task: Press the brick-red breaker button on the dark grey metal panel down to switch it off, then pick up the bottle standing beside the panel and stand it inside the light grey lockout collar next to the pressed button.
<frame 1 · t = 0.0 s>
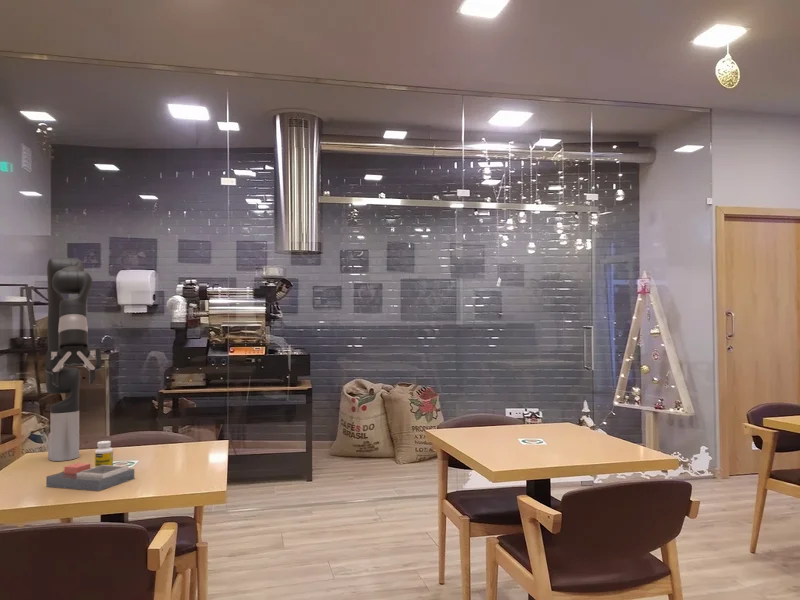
hand: (74, 385, 164), 31 cm above the table, fingers open, 8 cm apart
supplement bottle: (103, 472, 190), on the table
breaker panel: (91, 482, 176), on the table
breaker button: (77, 470, 178), point 3 cm above the table, slide at 0.0 cm
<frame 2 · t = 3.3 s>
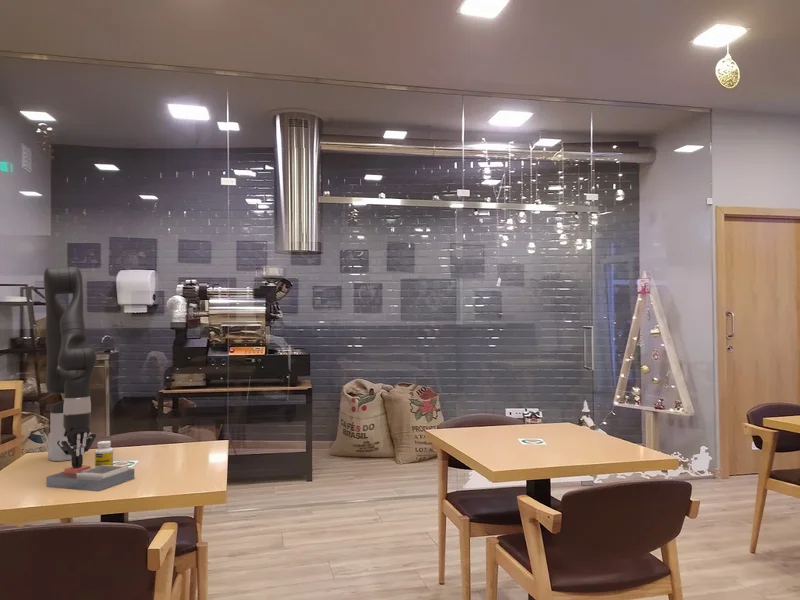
hand: (77, 467, 178), 4 cm above the table, fingers closed
breaker button: (77, 473, 178), point 3 cm above the table, slide at 0.7 cm, touching gripper
everything else where it was.
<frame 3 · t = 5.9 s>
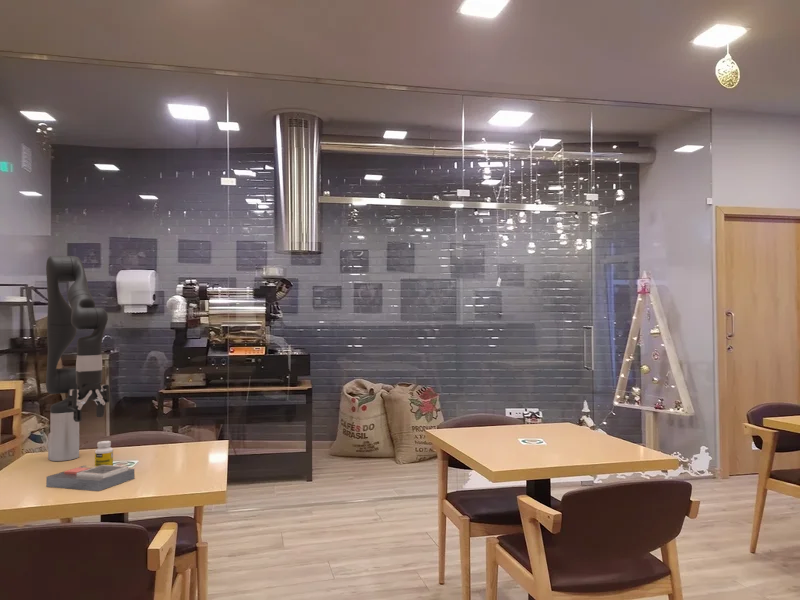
hand: (89, 419, 184), 18 cm above the table, fingers open, 8 cm apart
breaker button: (77, 475, 178), point 2 cm above the table, slide at 1.4 cm
everything else where it was.
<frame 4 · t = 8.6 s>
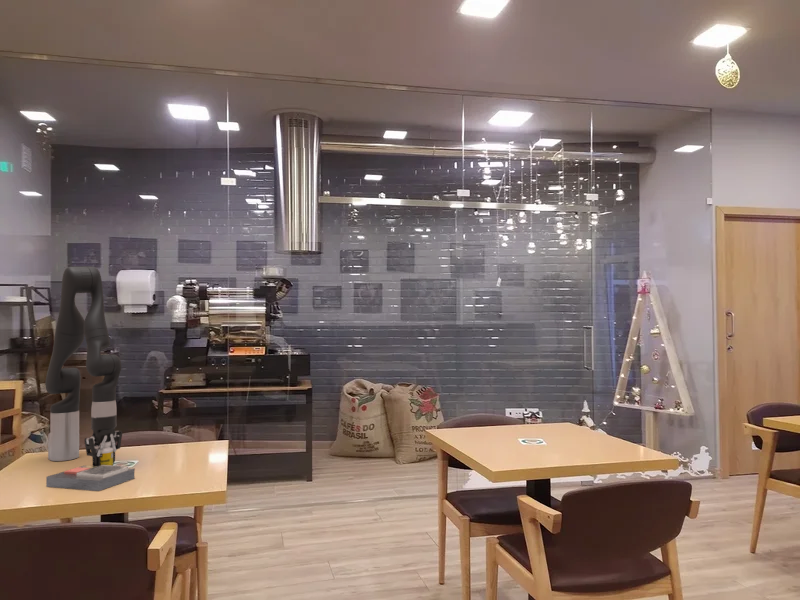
hand: (103, 465, 190), 2 cm above the table, fingers closed on supplement bottle, 5 cm apart
supplement bottle: (103, 472, 190), on the table, touching gripper
everything else where it was.
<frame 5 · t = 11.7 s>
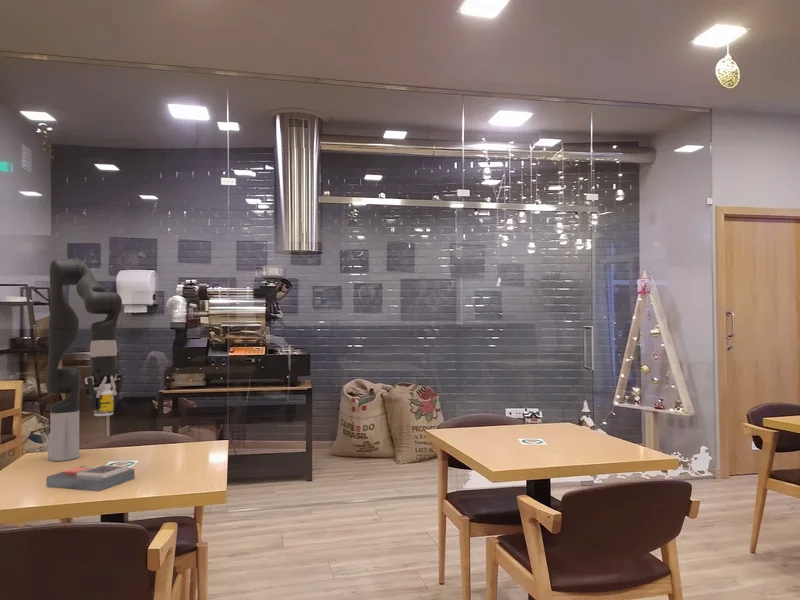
hand: (103, 408, 179), 22 cm above the table, fingers closed on supplement bottle, 5 cm apart
supplement bottle: (103, 415, 179), point 20 cm above the table, touching gripper
everything else where it was.
when the fingers open (6 cm above the table, at t = 14.8 s): supplement bottle drops 1 cm, resting on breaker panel.
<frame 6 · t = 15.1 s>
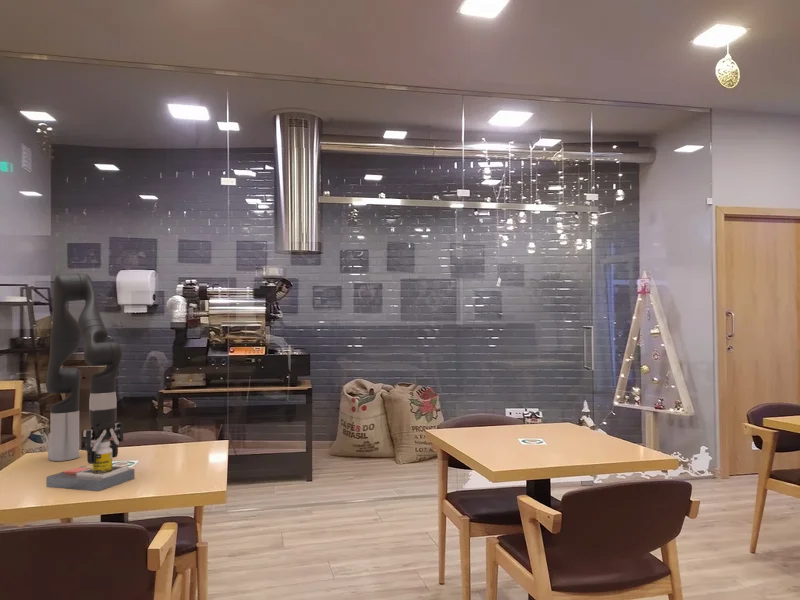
hand: (102, 460, 175), 7 cm above the table, fingers open, 8 cm apart
supplement bottle: (102, 474, 175), point 3 cm above the table, touching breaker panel
everything else where it was.
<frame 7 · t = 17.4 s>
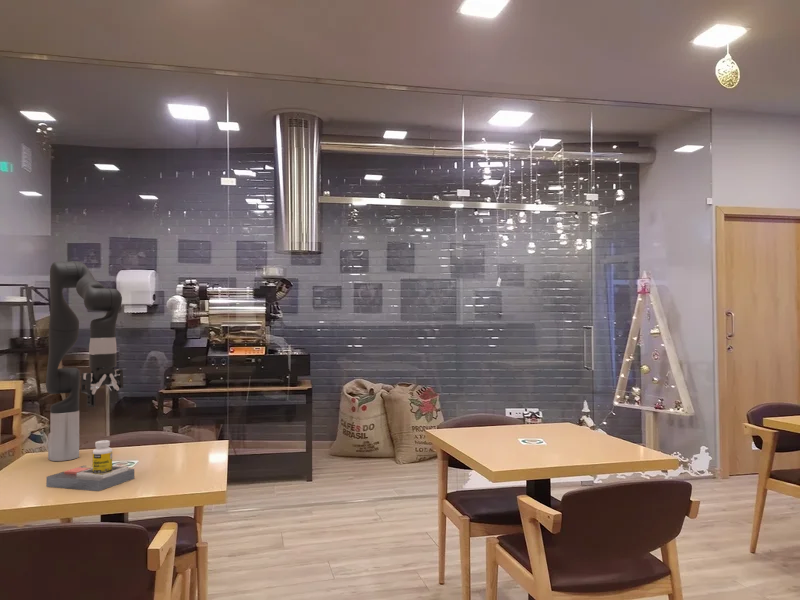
hand: (102, 404, 176), 24 cm above the table, fingers open, 8 cm apart
nothing on the table moved.
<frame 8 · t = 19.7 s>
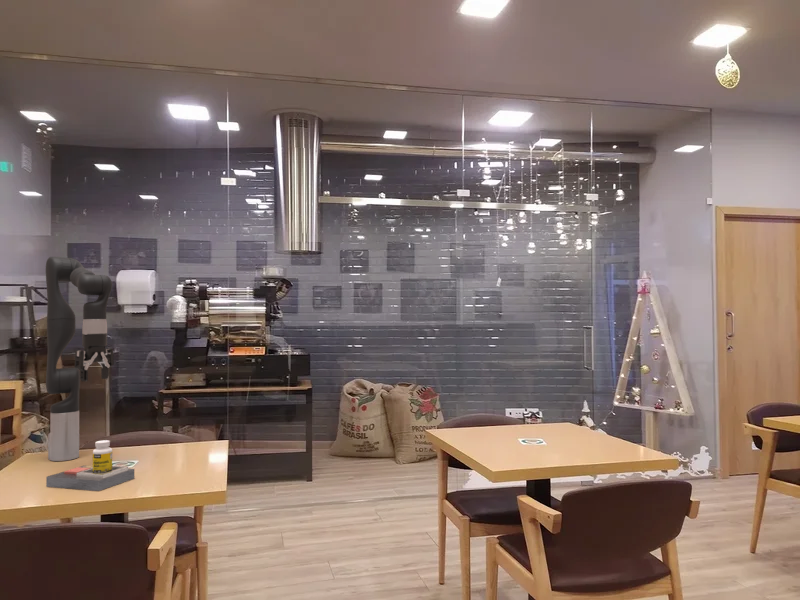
hand: (94, 380, 195), 30 cm above the table, fingers open, 8 cm apart
nothing on the table moved.
at the end: breaker button slide at 1.4 cm; supplement bottle 0.1 cm from the target spot on the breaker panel, point 2.8 cm above the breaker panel's base; supplement bottle tilted 0° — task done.
